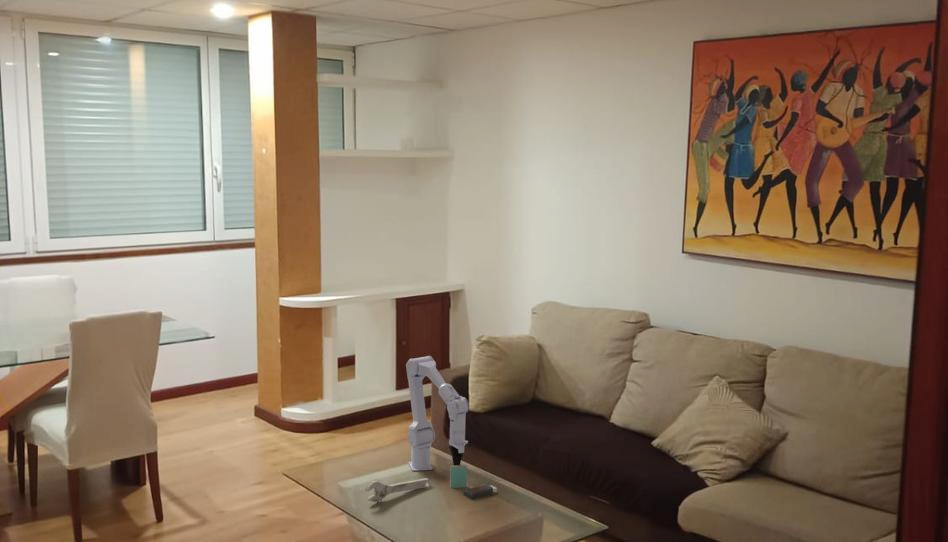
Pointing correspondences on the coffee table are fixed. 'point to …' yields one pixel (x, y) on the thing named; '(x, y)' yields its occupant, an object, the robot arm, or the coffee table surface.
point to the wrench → (394, 488)
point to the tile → (458, 476)
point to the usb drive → (479, 492)
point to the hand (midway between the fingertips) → (456, 465)
